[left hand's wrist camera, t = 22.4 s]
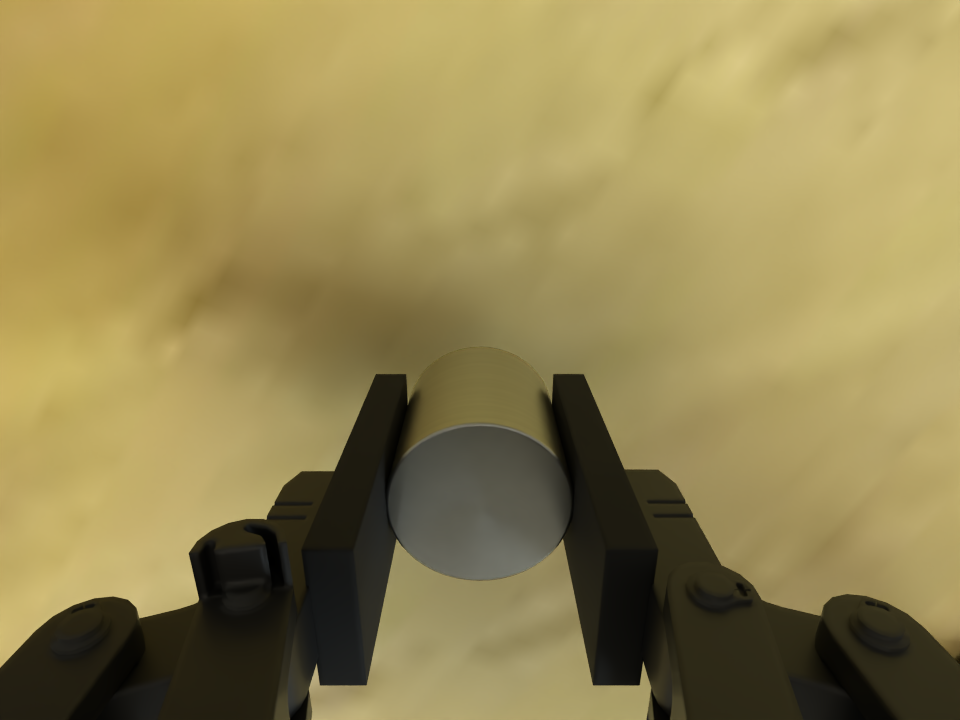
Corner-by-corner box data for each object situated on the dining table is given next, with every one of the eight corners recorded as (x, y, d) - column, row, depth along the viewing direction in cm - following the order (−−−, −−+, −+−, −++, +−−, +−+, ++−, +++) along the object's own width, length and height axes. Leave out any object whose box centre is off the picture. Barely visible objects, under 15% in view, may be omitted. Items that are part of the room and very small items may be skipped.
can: (388, 445, 15) (359, 548, 12) (439, 323, 14) (425, 394, 10) (515, 491, 16) (526, 603, 12) (575, 378, 15) (608, 463, 11)
